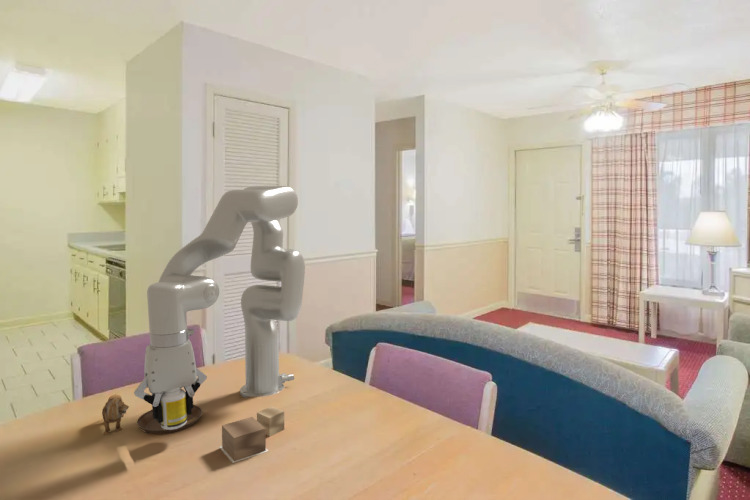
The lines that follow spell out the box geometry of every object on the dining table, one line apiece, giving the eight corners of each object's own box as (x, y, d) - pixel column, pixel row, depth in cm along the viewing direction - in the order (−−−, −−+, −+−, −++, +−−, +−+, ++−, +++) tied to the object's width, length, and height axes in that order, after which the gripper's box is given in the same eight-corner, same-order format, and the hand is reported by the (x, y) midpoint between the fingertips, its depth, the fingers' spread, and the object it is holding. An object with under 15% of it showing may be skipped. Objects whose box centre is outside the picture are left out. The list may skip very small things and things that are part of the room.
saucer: (122, 434, 109) (122, 423, 109) (170, 409, 123) (169, 399, 123) (171, 445, 104) (171, 434, 104) (215, 418, 118) (215, 408, 117)
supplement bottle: (192, 420, 104) (190, 379, 103) (175, 432, 99) (172, 389, 98) (173, 417, 106) (171, 376, 105) (155, 428, 101) (152, 385, 100)
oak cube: (271, 424, 112) (271, 406, 112) (284, 429, 109) (284, 411, 109) (257, 430, 108) (256, 412, 108) (269, 436, 106) (269, 417, 105)
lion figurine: (130, 435, 108) (129, 398, 107) (104, 441, 105) (102, 403, 104) (123, 412, 120) (122, 379, 119) (99, 417, 117) (98, 383, 116)
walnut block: (252, 437, 105) (252, 416, 104) (265, 450, 99) (265, 428, 99) (222, 447, 101) (221, 425, 100) (234, 461, 95) (233, 438, 95)
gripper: (203, 327, 108) (206, 400, 111) (121, 341, 98) (127, 421, 100) (214, 334, 103) (217, 411, 105) (128, 351, 92) (134, 436, 94)
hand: (173, 415), depth 102 cm, fingers closed on supplement bottle, 5 cm apart
